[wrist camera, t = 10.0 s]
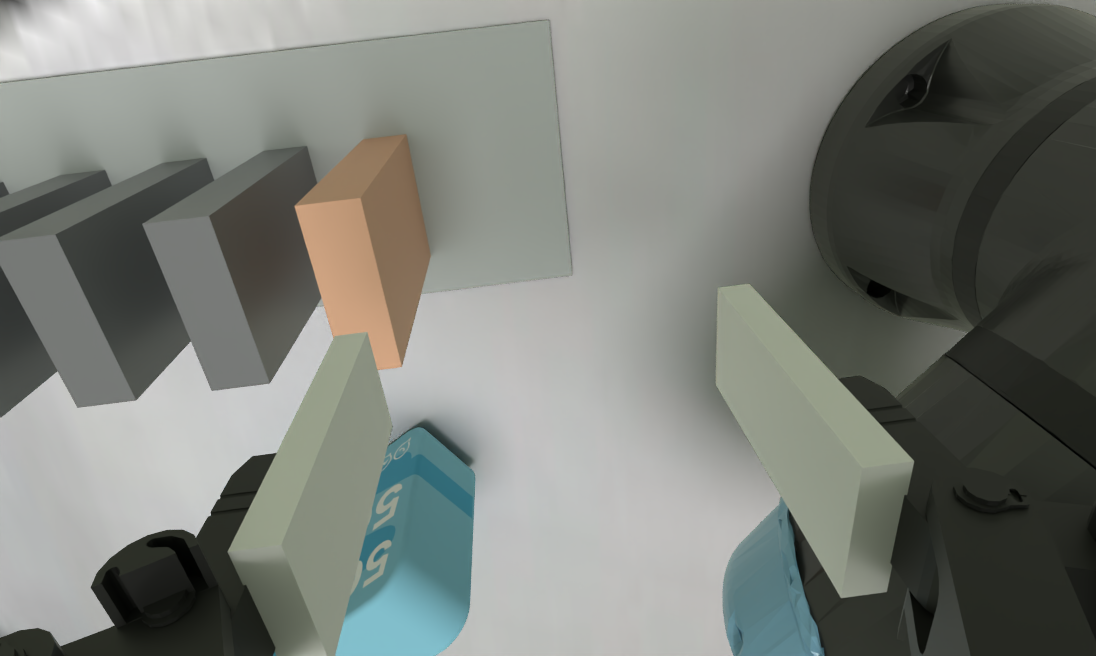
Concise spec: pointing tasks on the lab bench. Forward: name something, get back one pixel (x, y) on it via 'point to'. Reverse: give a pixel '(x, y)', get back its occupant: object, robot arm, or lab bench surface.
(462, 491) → the data package
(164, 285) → the domino
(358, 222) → the domino
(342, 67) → the mat
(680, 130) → the lab bench surface
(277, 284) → the domino
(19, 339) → the domino
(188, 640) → the robot arm
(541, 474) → the lab bench surface
